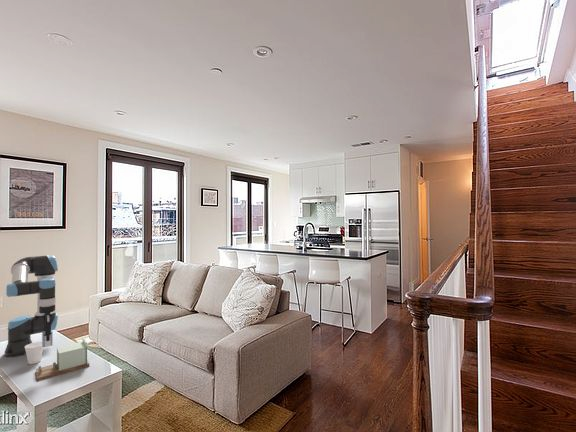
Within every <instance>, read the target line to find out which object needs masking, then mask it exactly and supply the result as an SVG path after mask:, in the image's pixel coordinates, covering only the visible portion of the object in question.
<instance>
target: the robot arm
mask: <svg viewBox="0 0 576 432" xmlns="http://www.w3.org/2000/svg"><path fill="white" fill-rule="evenodd" d="M57 262H58V261H57V257H56V256H55V255H39V256H37V255H36V256H26V257H23V258H20V259H19V260H17V261H16V262H14V263H13V264H12V265H11V268H10V273H11V283H8V284H6V289H5V290H6V291H5V293H6V297H8V298H9V297H10V298H11V297H14V298H15V297H20V296H28V295H35V294H36V295H37V296H36V297H37V298H36V300H37V301H36V304H37V305H36V306H37V307H36V309H37V312H35V313H34V316H33V317H32V316H31V315H30V314H29V315H28V314H27V315H21V316H18V317H15V318H12V319H11V320H9V322H8V324H7V345H6V347H5V350H4V357H8V358H10V357H13V358H14V357H18V356H19V357H20V356H23V355H26V351H25V348H24V347H25V346H26V345H28V344H31V343H33V341H32V338H31V336H32V335H36V334H42V332H43V331H45V335H44V336H45V347H44V348H47V347H51V330H52V331H55V330H56V328H57V325H58V317H59V314H58V313H57V312H56V279H55V278H54V276H55V275H56V272H59V271H58V268H59V267H58V263H57ZM29 274H31V275H32V274H34V277H35V278H36V279H37V280H34V281H29Z"/></svg>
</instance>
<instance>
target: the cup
mask: <svg viewBox="0 0 576 432" xmlns="http://www.w3.org/2000/svg"><path fill="white" fill-rule="evenodd" d="M24 348H25V351H26V354H25V355H26V358H27V364H29V365H35V364H38V363H40V362H41V360H42V355H43V350H44V347H43V346H42V341H35V342H32V343H31V344H28V345H26V346H25V347H24Z"/></svg>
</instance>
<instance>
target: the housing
mask: <svg viewBox="0 0 576 432" xmlns="http://www.w3.org/2000/svg"><path fill="white" fill-rule="evenodd" d="M87 360H88V342H87V340H86V338H85V337H84V336H82V341H78V342H75V343H70V344H66V345H61V346H58V347H56V364H57V365H58V364H59V371H61V370H65V369H68V368H72V367H76V366H79V365H83V364H87Z"/></svg>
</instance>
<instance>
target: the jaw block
mask: <svg viewBox="0 0 576 432" xmlns="http://www.w3.org/2000/svg"><path fill="white" fill-rule="evenodd" d="M44 335H45V331H43V332H42V333H41V342H42V346H43V348H46V347H45V336H44ZM51 346H53V330H51ZM51 346H50V347H51Z"/></svg>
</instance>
